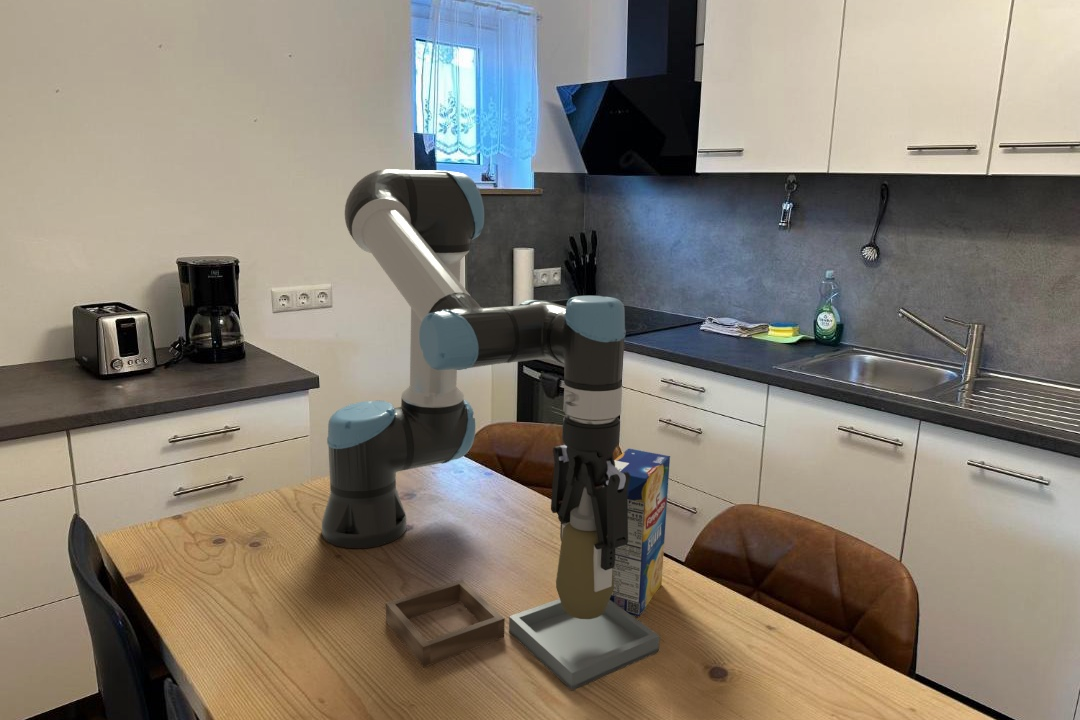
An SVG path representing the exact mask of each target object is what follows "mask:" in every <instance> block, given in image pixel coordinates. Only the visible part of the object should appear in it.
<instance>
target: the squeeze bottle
mask: <svg viewBox="0 0 1080 720" xmlns="http://www.w3.org/2000/svg"><path fill="white" fill-rule="evenodd" d="M606 537H607V536H606ZM560 542H561V543H560V550H559V557H558V562H557V563H558V564H557V570H556V571H557V572H556V579H555V588H556V592H557V593H558V599H560V601H561V604H562V607H563V610H564V611H565V612H566V613H567V614H568V615H570V616H572V617H575V618H579V619H593V618H597V617H599V616H601V615H602V614H603V613H604V611H605V609H606V607H607V604H608V602H609V600H610V597H611V595H612V592H613V590H614V579H613V568H612V586H611V587H609V588H606V589H603V590H600V591H597V592H595V591H594V559H593V558H594V544H597V543H599V542H598V536H597V530H596V524H595V518H594V512H593V506H592V500H591V496H589V495H588V494H587V489H586V486H585V487H584V490H583V493H582V497H581V501H580V505H579V507H576V508H574V509H573V510H572V511H571V512H570V523H568V524H567V525H566V526H565V527H564V528H563V534H562V541H561V540H560Z"/></svg>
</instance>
